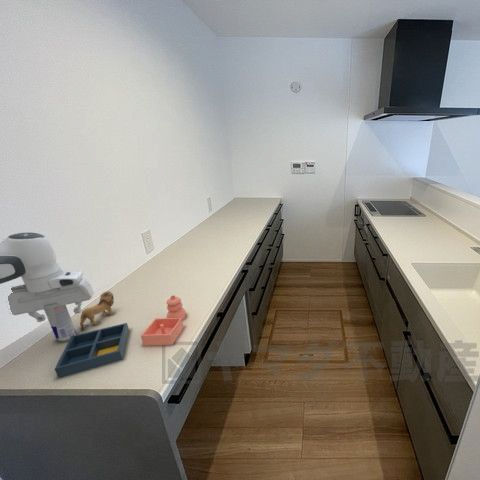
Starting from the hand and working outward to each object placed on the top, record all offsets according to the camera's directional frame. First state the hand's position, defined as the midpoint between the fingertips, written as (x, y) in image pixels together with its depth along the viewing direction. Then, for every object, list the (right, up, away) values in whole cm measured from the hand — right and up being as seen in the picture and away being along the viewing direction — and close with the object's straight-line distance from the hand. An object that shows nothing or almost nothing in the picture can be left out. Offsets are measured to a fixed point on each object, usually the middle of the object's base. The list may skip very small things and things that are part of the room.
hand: (60, 316), depth 89 cm
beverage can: (0, -8, +3) cm, 9 cm away
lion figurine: (+3, -5, +13) cm, 14 cm away
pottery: (+33, -7, +8) cm, 34 cm away
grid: (+15, -11, -3) cm, 19 cm away
